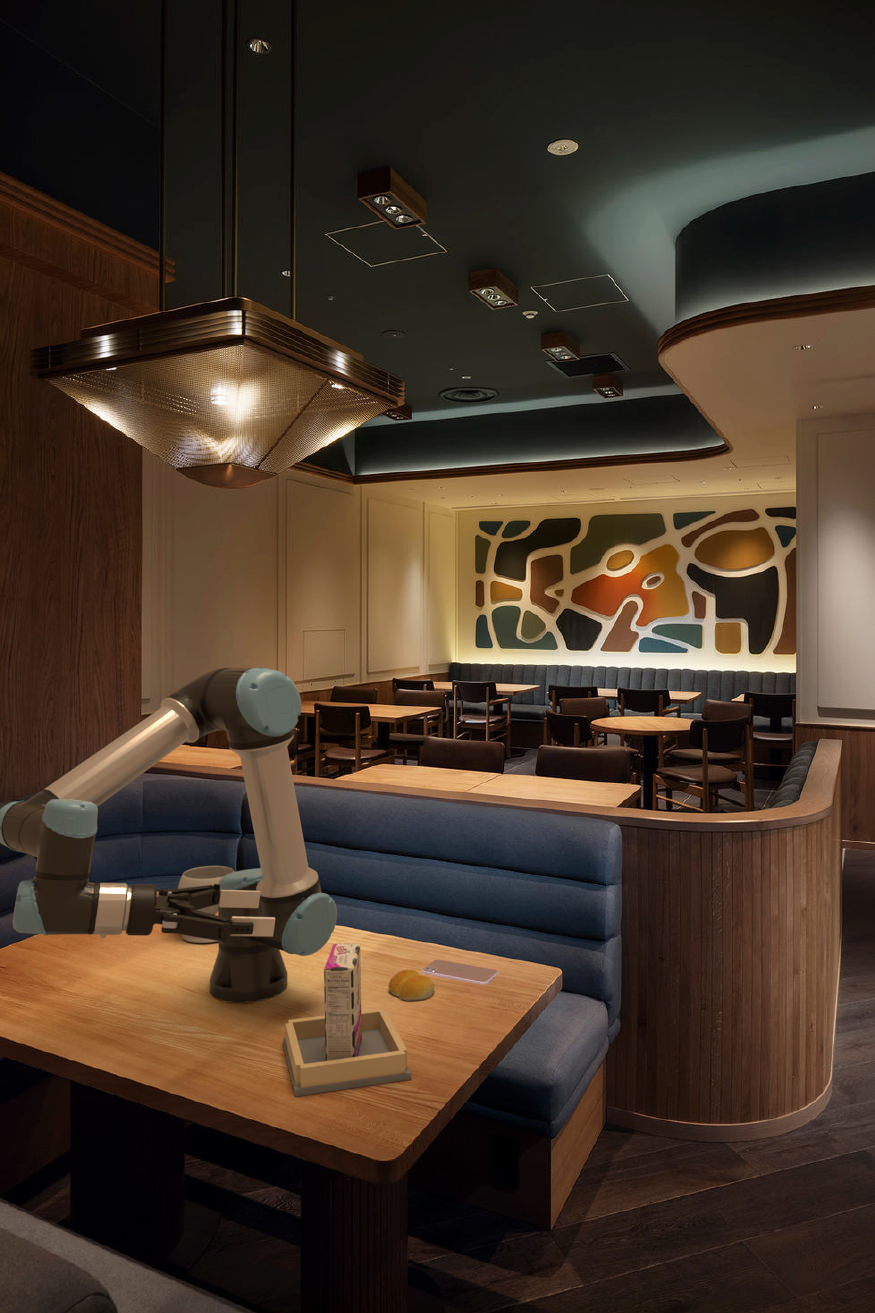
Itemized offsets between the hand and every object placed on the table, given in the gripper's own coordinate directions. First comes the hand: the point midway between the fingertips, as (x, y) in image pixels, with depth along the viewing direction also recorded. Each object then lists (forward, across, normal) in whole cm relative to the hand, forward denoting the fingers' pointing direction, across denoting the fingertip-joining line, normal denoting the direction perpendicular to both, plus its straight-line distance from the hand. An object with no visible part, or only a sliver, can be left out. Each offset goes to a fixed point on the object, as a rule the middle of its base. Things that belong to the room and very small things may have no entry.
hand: (266, 912), depth 137 cm
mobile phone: (+47, -24, -20) cm, 57 cm away
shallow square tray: (+15, +4, -23) cm, 28 cm away
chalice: (+2, -67, -27) cm, 72 cm away
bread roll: (+35, -18, -21) cm, 45 cm away
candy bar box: (+15, +4, -22) cm, 27 cm away
